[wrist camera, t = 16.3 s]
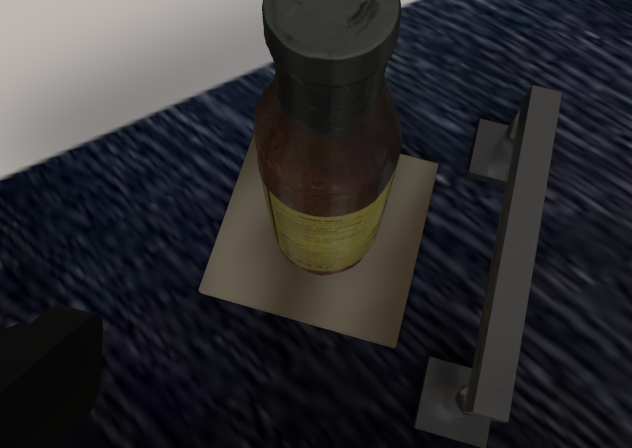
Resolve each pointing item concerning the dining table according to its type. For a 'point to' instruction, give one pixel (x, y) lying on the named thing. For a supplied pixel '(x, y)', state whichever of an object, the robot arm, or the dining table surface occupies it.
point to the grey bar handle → (497, 276)
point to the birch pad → (328, 290)
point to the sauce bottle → (328, 128)
